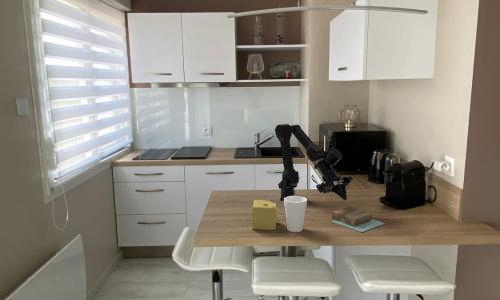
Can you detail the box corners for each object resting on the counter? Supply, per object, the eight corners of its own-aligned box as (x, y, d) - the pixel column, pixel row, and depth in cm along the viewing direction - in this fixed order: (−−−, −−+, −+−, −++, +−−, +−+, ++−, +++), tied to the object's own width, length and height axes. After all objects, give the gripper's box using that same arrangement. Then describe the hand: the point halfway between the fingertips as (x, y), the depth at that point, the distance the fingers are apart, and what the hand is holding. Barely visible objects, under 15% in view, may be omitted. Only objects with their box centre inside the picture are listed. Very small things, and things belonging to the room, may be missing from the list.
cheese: (277, 222, 174) (277, 200, 172) (276, 231, 163) (276, 207, 162) (253, 221, 175) (253, 199, 173) (251, 230, 164) (251, 207, 163)
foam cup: (292, 235, 159) (293, 204, 156) (279, 227, 166) (279, 198, 164) (310, 230, 164) (311, 200, 161) (296, 223, 171) (297, 194, 169)
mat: (331, 221, 174) (331, 220, 174) (354, 214, 184) (354, 213, 183) (362, 232, 161) (362, 231, 161) (384, 223, 171) (384, 223, 171)
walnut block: (332, 211, 175) (354, 218, 166) (349, 206, 183) (371, 213, 173) (332, 219, 176) (354, 226, 167) (349, 213, 183) (371, 220, 174)
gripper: (330, 178, 194) (348, 205, 187) (304, 184, 182) (321, 213, 176) (344, 164, 187) (362, 192, 180) (317, 170, 175) (336, 200, 168)
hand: (345, 199), depth 176 cm, fingers closed
